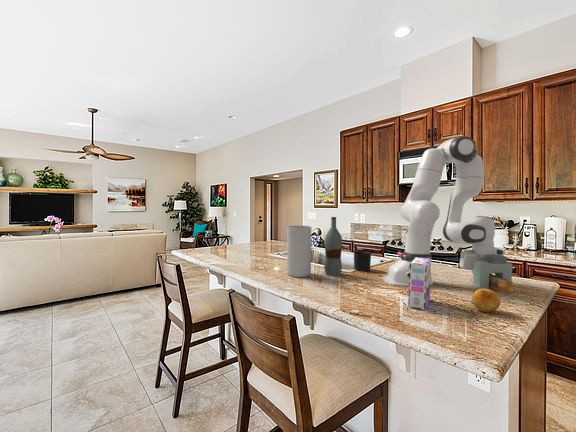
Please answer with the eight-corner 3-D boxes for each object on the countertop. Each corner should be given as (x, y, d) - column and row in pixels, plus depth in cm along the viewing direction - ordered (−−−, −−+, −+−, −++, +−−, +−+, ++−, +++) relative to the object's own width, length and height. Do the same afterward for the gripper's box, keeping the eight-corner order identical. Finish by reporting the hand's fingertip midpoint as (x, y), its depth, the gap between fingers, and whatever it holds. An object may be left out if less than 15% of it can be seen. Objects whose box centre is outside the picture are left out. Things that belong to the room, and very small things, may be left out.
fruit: (489, 317, 100) (490, 293, 99) (466, 308, 107) (467, 286, 107) (504, 313, 103) (505, 290, 103) (481, 305, 110) (482, 284, 110)
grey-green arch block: (479, 287, 134) (481, 256, 133) (472, 284, 139) (474, 254, 138) (511, 288, 134) (512, 257, 133) (503, 285, 139) (504, 255, 138)
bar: (503, 293, 126) (503, 281, 126) (473, 280, 146) (474, 270, 146) (512, 293, 126) (513, 281, 126) (481, 280, 146) (482, 270, 146)
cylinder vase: (288, 271, 162) (288, 225, 161) (311, 272, 161) (312, 225, 159) (285, 277, 150) (285, 227, 149) (310, 278, 148) (310, 227, 147)
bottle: (322, 272, 161) (323, 216, 160) (338, 271, 162) (339, 216, 161) (326, 276, 152) (327, 217, 151) (343, 276, 153) (345, 217, 152)
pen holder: (369, 268, 172) (369, 250, 172) (372, 271, 163) (372, 253, 162) (352, 267, 173) (352, 250, 173) (354, 271, 164) (354, 253, 163)
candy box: (425, 311, 105) (426, 264, 104) (407, 307, 108) (408, 262, 107) (430, 300, 116) (431, 258, 116) (414, 297, 120) (415, 256, 119)
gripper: (464, 250, 140) (463, 280, 140) (508, 251, 140) (507, 280, 140) (457, 248, 146) (456, 276, 147) (499, 249, 146) (497, 277, 147)
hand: (481, 278), depth 144 cm, fingers closed on bar, 4 cm apart
